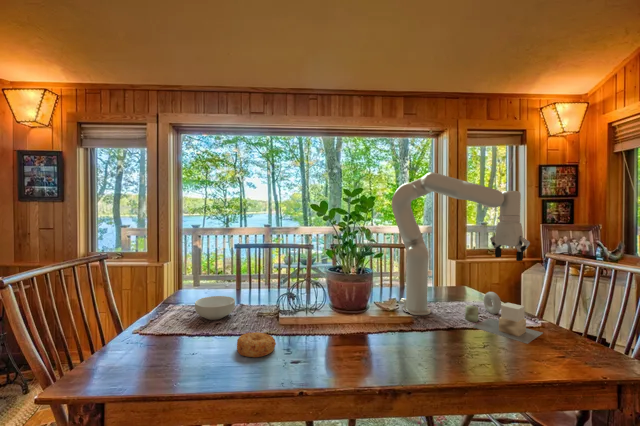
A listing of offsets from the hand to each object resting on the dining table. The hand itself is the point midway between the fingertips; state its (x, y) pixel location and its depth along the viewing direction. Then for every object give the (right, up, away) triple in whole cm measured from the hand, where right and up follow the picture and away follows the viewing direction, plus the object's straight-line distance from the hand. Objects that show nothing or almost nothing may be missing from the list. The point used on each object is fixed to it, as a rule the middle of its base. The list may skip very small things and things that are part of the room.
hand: (508, 258), depth 139 cm
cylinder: (-17, -26, -2) cm, 31 cm away
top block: (-7, -21, -14) cm, 26 cm away
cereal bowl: (-127, -26, +1) cm, 130 cm away
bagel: (-103, -27, -31) cm, 111 cm away
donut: (-3, -27, +8) cm, 28 cm away
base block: (-7, -26, -14) cm, 30 cm away
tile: (-8, -27, -13) cm, 31 cm away
